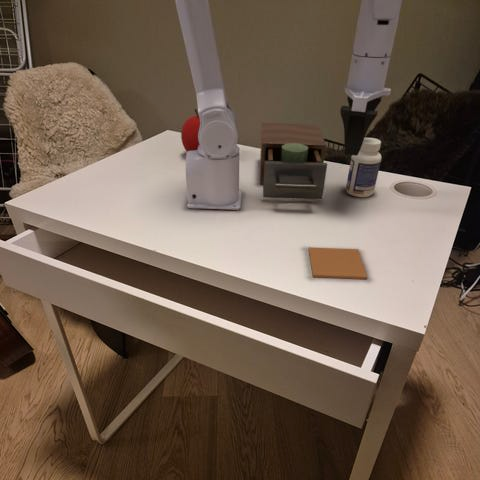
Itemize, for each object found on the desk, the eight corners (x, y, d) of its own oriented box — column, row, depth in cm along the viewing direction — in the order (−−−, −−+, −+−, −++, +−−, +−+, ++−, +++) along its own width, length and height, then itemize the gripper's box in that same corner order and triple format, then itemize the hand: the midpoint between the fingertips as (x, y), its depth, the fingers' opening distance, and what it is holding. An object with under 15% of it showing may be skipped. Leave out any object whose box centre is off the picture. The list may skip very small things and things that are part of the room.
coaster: (312, 277, 58) (313, 274, 58) (308, 249, 64) (308, 247, 64) (367, 279, 58) (367, 276, 58) (357, 251, 64) (358, 249, 64)
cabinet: (319, 186, 83) (326, 144, 78) (259, 184, 83) (261, 142, 78) (313, 162, 93) (318, 124, 88) (260, 161, 94) (262, 122, 89)
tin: (279, 186, 78) (282, 151, 74) (278, 177, 81) (281, 142, 77) (305, 187, 78) (309, 152, 73) (303, 177, 81) (307, 143, 77)
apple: (210, 165, 91) (208, 116, 85) (174, 159, 94) (170, 111, 88) (228, 153, 98) (228, 106, 91) (194, 147, 100) (192, 101, 94)
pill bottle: (378, 193, 81) (391, 141, 75) (361, 200, 78) (373, 147, 72) (357, 184, 84) (367, 134, 78) (339, 191, 82) (348, 139, 75)
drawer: (324, 209, 73) (330, 174, 69) (262, 207, 73) (264, 172, 69) (315, 174, 86) (319, 142, 82) (262, 172, 86) (264, 140, 82)
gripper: (397, 64, 57) (374, 164, 65) (399, 50, 67) (380, 137, 76) (345, 60, 58) (329, 158, 67) (355, 47, 69) (341, 133, 78)
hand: (353, 147), depth 72 cm, fingers open, 7 cm apart
